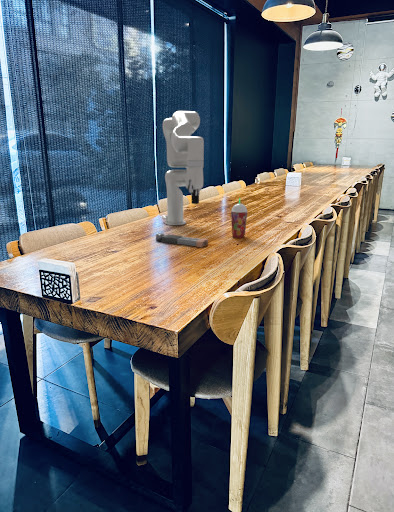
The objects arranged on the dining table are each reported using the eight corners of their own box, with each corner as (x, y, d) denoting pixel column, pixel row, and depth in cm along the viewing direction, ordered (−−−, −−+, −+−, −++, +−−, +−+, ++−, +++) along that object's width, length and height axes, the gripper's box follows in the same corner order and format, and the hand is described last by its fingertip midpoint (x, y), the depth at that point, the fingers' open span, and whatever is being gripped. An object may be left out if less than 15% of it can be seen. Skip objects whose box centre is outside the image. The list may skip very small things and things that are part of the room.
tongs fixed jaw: (161, 242, 182) (161, 236, 181) (165, 241, 185) (165, 235, 184) (202, 247, 173) (202, 241, 172) (204, 246, 176) (204, 240, 175)
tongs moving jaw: (154, 240, 185) (154, 234, 185) (160, 238, 190) (160, 232, 189) (203, 247, 174) (203, 240, 173) (207, 244, 179) (207, 238, 178)
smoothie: (248, 235, 196) (250, 197, 191) (243, 239, 189) (245, 199, 184) (233, 234, 200) (234, 196, 194) (228, 237, 193) (229, 198, 187)
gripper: (195, 163, 183) (195, 201, 189) (180, 165, 170) (181, 205, 176) (209, 163, 180) (208, 202, 186) (195, 165, 167) (195, 206, 173)
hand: (195, 203), depth 181 cm, fingers closed
